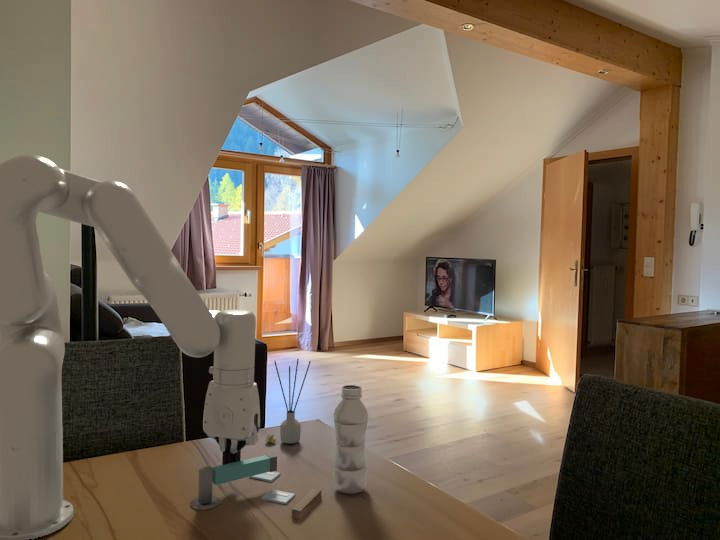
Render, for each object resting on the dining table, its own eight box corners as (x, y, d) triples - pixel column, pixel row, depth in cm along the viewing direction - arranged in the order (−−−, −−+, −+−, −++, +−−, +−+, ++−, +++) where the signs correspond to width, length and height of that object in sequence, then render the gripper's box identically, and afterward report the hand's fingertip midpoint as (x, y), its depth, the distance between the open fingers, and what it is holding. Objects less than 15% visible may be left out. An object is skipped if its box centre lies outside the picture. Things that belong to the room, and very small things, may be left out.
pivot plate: (184, 506, 97) (184, 505, 97) (202, 494, 102) (202, 493, 102) (208, 512, 95) (208, 511, 95) (226, 499, 100) (226, 498, 100)
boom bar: (201, 504, 97) (201, 473, 96) (196, 499, 99) (196, 468, 98) (277, 484, 105) (277, 455, 105) (271, 480, 107) (272, 451, 107)
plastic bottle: (363, 500, 101) (366, 393, 100) (328, 496, 102) (330, 390, 101) (370, 485, 107) (372, 384, 106) (336, 481, 109) (338, 381, 107)
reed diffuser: (308, 438, 132) (310, 356, 130) (310, 449, 125) (311, 362, 124) (265, 439, 130) (266, 356, 129) (264, 451, 123) (266, 363, 122)
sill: (291, 517, 94) (292, 509, 94) (313, 496, 102) (313, 488, 102) (300, 519, 93) (300, 511, 93) (321, 498, 101) (321, 490, 101)
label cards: (229, 492, 103) (229, 489, 103) (258, 470, 113) (258, 468, 113) (285, 504, 99) (285, 501, 99) (311, 480, 108) (311, 478, 108)
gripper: (188, 375, 102) (185, 471, 103) (258, 385, 97) (255, 486, 98) (212, 367, 109) (209, 457, 110) (278, 376, 104) (275, 470, 105)
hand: (231, 470), depth 104 cm, fingers closed
